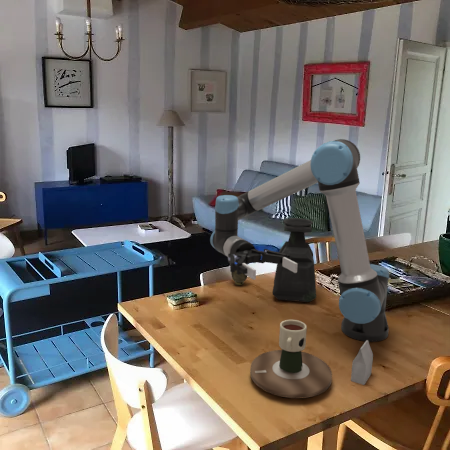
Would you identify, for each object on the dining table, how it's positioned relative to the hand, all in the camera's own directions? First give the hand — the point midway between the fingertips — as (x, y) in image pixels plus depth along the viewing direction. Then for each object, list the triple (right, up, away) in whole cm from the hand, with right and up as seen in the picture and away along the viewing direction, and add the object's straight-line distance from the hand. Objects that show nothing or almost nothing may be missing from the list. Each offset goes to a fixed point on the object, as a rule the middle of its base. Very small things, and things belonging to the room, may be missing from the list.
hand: (275, 271), depth 136 cm
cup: (-8, -12, +67) cm, 69 cm away
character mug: (+4, -26, -3) cm, 27 cm away
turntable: (+4, -28, -2) cm, 28 cm away
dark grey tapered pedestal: (+13, -15, +57) cm, 61 cm away
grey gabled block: (+24, -30, 0) cm, 38 cm away
